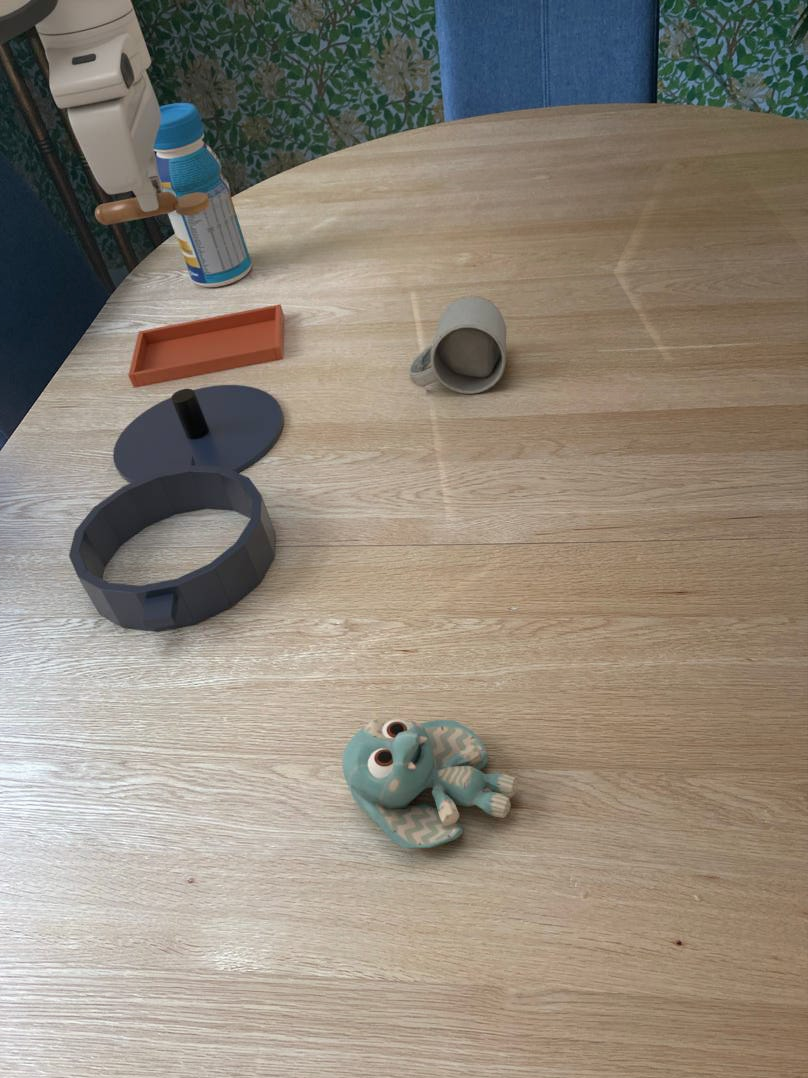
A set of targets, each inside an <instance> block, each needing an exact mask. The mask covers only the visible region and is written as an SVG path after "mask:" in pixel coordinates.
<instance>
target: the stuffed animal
mask: <svg viewBox="0 0 808 1078" xmlns="http://www.w3.org/2000/svg"><path fill="white" fill-rule="evenodd" d="M488 761H489V758H488V753H487V749H486V746H485V745H484V744H483V742H482V741H481V740H480V739H479V737H478V736H477V734H476V733H475V732H474V731H473V730H472V729H470V728H468V727H467V726H465V725H463V724H462V723H460V722H458V721H457V720H454V719H435V720H430V721H425V722H421V723H418V722H416V721H413V720H411V719H409V718H407V717H401V716H394V717H383V716H380V717H376V718H373V719H372V720H371V721H369V722H368V723H367V724H366V725H364V726H363V727H362V728H361V729H359V730H358V731H357V732H356V733H355V734H354V735H353V736H352V737H351V739H350V740H348V742H347V744H346V745H345V747H344V748H343V753H342V763H341V764H342V765H341V766H342V773H343V777H344V779H345V782H346V784H347V786H348V788H349V791H350V794H351V796H352V797H353V799H354V800H355V802H356V804H357V806H358V807H359V808H360V809H361V810H362V811H363V812H364V813H365V814H366V815H367V816H368V817H369V818H370V819H371V820H372V821H374V822H375V823H376V824H377V825H378V826H379V828H380V829H381V831H383V832H384V834H385V835H386V836H387V837H388V839H390V840H391V841H393V842H394V843H396V844H398V845H399V846H401V847H402V848H404V849H431V848H435V847H438V846H440V845H444V844H446V843H449V842H452V841H454V840H456V839H458V838H459V837H460V836H462V835H463V833H464V831H463V828H462V826H461V825H460V824H459V823H458V820H459V818H460V813H459V811H458V807H457V806H456V805H458V806H461V807H468V808H470V807H473V806H476V807H478V808H479V809H481V810H482V811H484V812H485V813H486V814H488V815H490V816H492V817H496V818H502V819H504V818H505V817H507V815H508V814H509V812H510V811H511V807H512V804H511V803H512V802H511V800H510V799H511V798H512V797H513V796H514V795H515V793H516V791H517V789H518V784H517V780H516V777H514V776H511V775H509V774H507V773H501V772H496V773H489V774H486V773H484V772H482V771H481V769H483V768H486V767H487V764H488ZM426 789H432V790H431V794H432V797H433V799H434V803H435V805H436V808H435V807H433V806H430V805H428V804H418V805H417V804H416V805H409V804H410V803H411V802H413V801H414V800H415V799H416V798H417V797H418V796H419V795H420V794H421V793H422V792H423V791H425V790H426ZM485 789H489V790H490V791H485Z"/></svg>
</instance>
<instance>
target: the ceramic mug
mask: <svg viewBox="0 0 808 1078" xmlns="http://www.w3.org/2000/svg"><path fill="white" fill-rule="evenodd" d="M429 364H430V367H428V368H427V366H428V365H429ZM506 364H507V325H506V322H505V318H504V316H503V314H502V312H501V310H500V309H499V307H497V305H495V304H494V303H493V302H491V301H490V300H488V299H486V298H484V297H481V296H477V295H476V296H475V295H468V296H462V297H460V298H456V299H455V300H454V301H452V302H451V303H450V304H449V305H448V306H447V307H446V308H445V309H444V310H443V311H442V314H441V315H440V317H439V321H438V322H437V325H436V331H435V335H434V338H433V343H432V344H431V345H429V346H428V347H426V348H425V349H423V350H422V351H421V352H420V353H419V354H418V355H417V356H416V357H415V359H414V360H413V361H412V363H411V364H410V365H409V366H410V367H409V370H408V373H409V376H410V377H411V379H412V380H413V381H414V383H415V384H416V385H419V386H422V387H425V386H426V387H427V386H428V385H431V384H434V383H437V382H439V383H441V384H442V385H443V386H444V387H446V388H447V389H448V390H451V391H452V392H455V393H459V394H465V395H474V394H480V393H484V392H485V391H487V390H489V389H491V388H493V387H494V386H495V385H496V384H498V382H499V381H500V379H501V378H502V376H503V374H504V372H505V369H506V366H507V365H506ZM425 368H427V369H425Z"/></svg>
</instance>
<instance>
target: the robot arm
mask: <svg viewBox="0 0 808 1078" xmlns="http://www.w3.org/2000/svg"><path fill="white" fill-rule="evenodd" d="M33 27H35V29H36V32H37V34H38V36H39V38H40V41H41V44H42V46H43V48H44V52H45V57H46V60H47V62H48V67H49V69H48V71H49V89H50V93H51V95H52V98H53V101H54V103H55V104H56V106H57V108H58V109H61V110H62V109H67V116H68V120H69V124H70V126H71V129H72V132H73V133H74V136H75V139H76V141H77V143H78V145H79V147H80V149H81V151H82V154H83V155H84V156H83V157H84V158H85V160H86V162H87V164H88V166H89V168H90V171H91V172H92V174H93V177H94V179H95V181H96V182H97V184H98V185H99V186H100V188H101V189H102V190H103V191H104V192H105V194H107V195H117V194H124V193H127V192H132V193H133V194H134V195H135V198H136V197H137V199H138V202H139V205H140V207H141V209H142V210H143V211H144V212H149V211H154V210H157V209H158V208H159V202H160V199H159V197H158V194H157V193H161V192H162V191H163V186H162V183H161V180H160V177H159V174H158V168H157V163H156V153H155V152H156V151H154V149H153V146H154V143H155V139H156V136H157V132H158V129H159V126H160V122H161V112H160V107H161V106H160V105H159V102H158V101H159V100H158V98H157V96H156V93H155V91H154V87H153V85H152V82H151V80H150V78H149V75H148V73H147V69H149V67H150V66H151V64H152V58H151V56H150V55H151V54H150V53H149V49H148V47H147V44H146V41H145V37H144V35H143V32H142V29H141V26H140V24H139V20H138V18H137V15H136V11H135V9H134V6H133V3H132V1H131V0H0V46H1V45H3V44H5V43H6V42H7V43H8V41H10V40H12V39H14V38H16V37H18V36H20V35H22V34H23V33H25V32H27V31H29V30H30V29H32V28H33Z"/></svg>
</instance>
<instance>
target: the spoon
mask: <svg viewBox="0 0 808 1078" xmlns="http://www.w3.org/2000/svg"><path fill="white" fill-rule="evenodd" d="M157 194H158V197H159V199H160V202H159V208H158V209H157V210H154V211H149V212H144V211H143V210H142V209H141V207H140V205H139V202H138V199H137V197H136V196H135V197H131V198H126V199H121V200H116V201H111V202H106V203H101V204H99V205H98V206H97V207H96V208H95V210H94V217H95V219H96V220H97V222H98V223H100V224H101V225H104V226H109V225H115V224H120V223H124V222H125V223H126V222H130V221H135V220H140V219H141V220H142V219H145V218H150V217H156V216H159V215H160V216H161V215H165V214H168V213H171V212H174V211H175V210H176V212H177V213H178V214H180V215H191V214H196V213H199V212H201V211H203V210H205V209H206V208H208V206H209V205H210V201H209V198H208V195H207V194H205V193H202V192H196V193H190V194H186V195H184V196H182V197H180V198H178V199H177V198H176V196H175V195H174V194H173V193H171V192H161V193H157Z"/></svg>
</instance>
